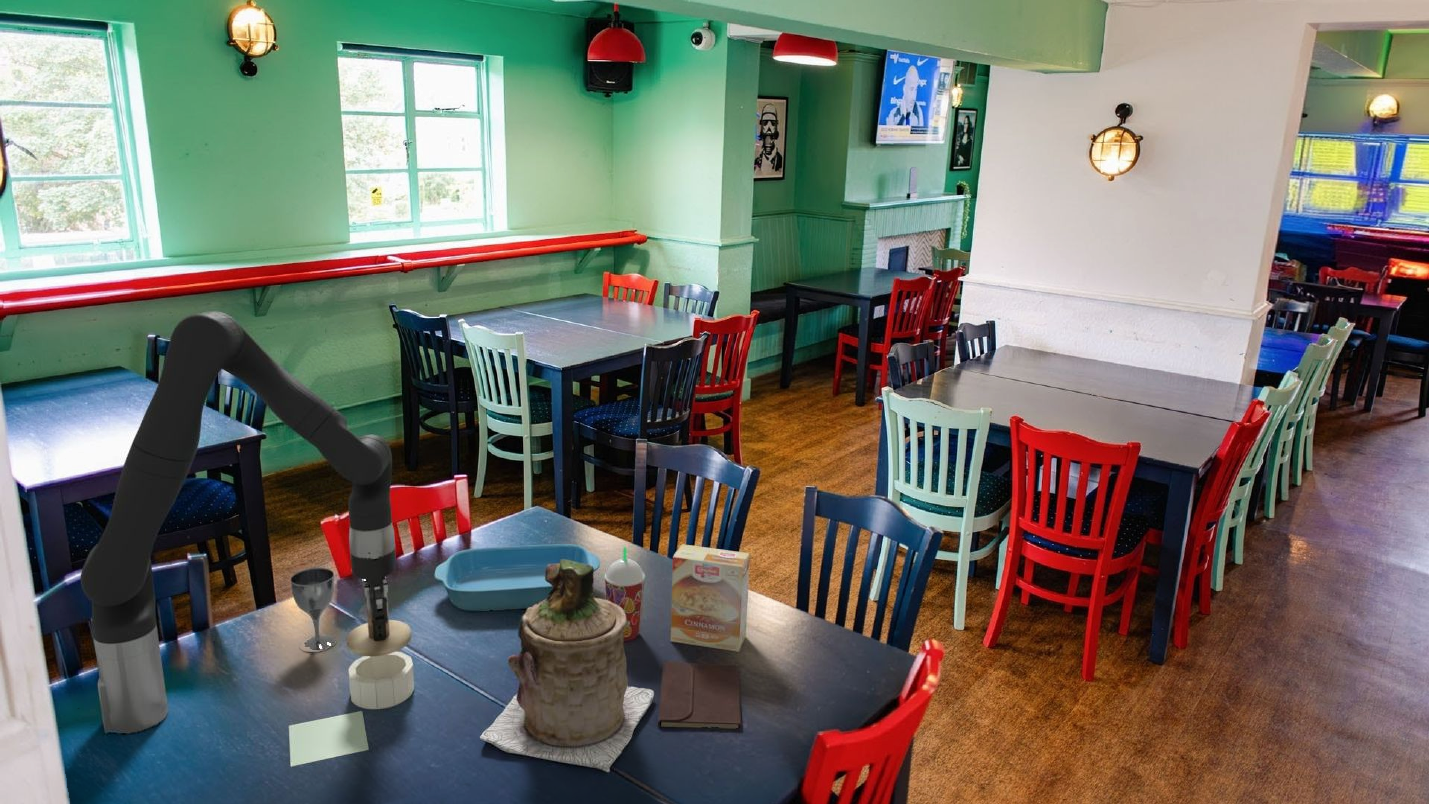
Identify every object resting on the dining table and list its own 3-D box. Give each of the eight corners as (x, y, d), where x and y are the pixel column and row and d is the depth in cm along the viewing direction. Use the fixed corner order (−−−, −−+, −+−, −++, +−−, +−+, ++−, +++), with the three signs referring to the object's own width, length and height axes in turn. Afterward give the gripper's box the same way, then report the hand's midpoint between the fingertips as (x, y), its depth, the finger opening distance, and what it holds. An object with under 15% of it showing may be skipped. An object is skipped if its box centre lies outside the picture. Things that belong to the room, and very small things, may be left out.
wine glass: (310, 658, 187) (304, 589, 183) (289, 644, 191) (282, 577, 187) (346, 642, 193) (341, 575, 189) (325, 629, 198) (319, 564, 194)
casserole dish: (431, 621, 203) (430, 591, 201) (440, 575, 224) (438, 548, 222) (603, 610, 210) (603, 581, 208) (596, 567, 231) (596, 540, 229)
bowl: (353, 718, 168) (351, 688, 167) (348, 686, 178) (346, 657, 176) (417, 705, 173) (416, 676, 171) (409, 674, 182) (408, 646, 181)
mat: (291, 770, 154) (290, 766, 154) (289, 729, 164) (288, 725, 164) (368, 753, 159) (368, 749, 159) (362, 714, 169) (362, 710, 169)
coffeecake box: (669, 642, 198) (671, 556, 193) (678, 626, 204) (681, 542, 199) (739, 653, 194) (743, 566, 189) (746, 636, 201) (750, 551, 196)
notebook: (738, 671, 188) (738, 662, 188) (741, 731, 169) (741, 721, 169) (663, 669, 188) (663, 660, 188) (657, 728, 169) (657, 719, 169)
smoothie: (646, 626, 203) (648, 541, 198) (640, 646, 195) (641, 557, 190) (608, 623, 204) (609, 538, 199) (600, 643, 196) (600, 554, 191)
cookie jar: (658, 698, 178) (662, 541, 169) (610, 778, 155) (611, 601, 147) (538, 675, 184) (536, 522, 176) (475, 749, 161) (468, 578, 153)
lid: (349, 661, 165) (347, 629, 164) (345, 632, 175) (342, 601, 173) (415, 649, 170) (413, 618, 168) (406, 621, 180) (405, 591, 178)
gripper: (346, 535, 172) (353, 620, 177) (353, 566, 160) (360, 657, 164) (390, 529, 175) (395, 613, 180) (399, 560, 163) (405, 649, 167)
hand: (378, 633), depth 172 cm, fingers closed on lid, 3 cm apart
